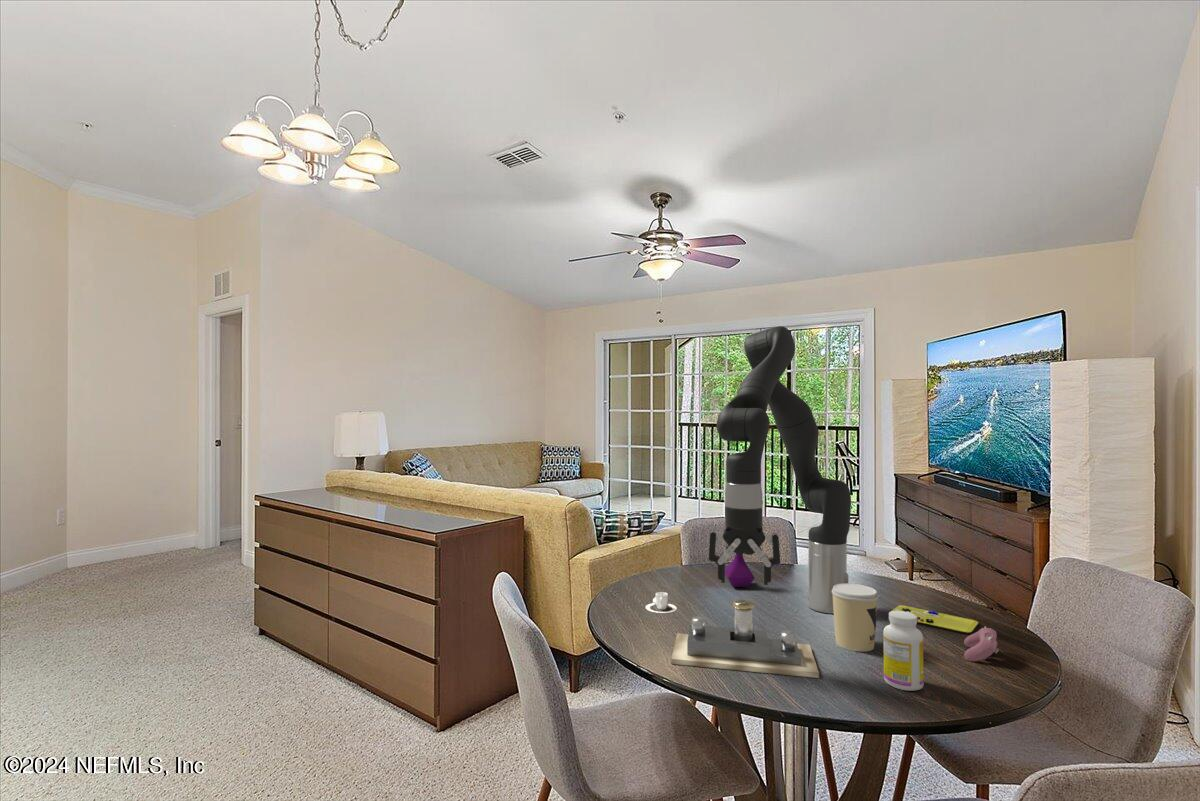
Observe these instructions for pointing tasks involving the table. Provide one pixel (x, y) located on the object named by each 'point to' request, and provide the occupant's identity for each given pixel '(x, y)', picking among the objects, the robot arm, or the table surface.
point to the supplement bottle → (903, 652)
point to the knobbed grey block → (741, 645)
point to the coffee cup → (855, 616)
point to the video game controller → (981, 644)
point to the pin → (743, 620)
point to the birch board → (805, 670)
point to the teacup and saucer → (661, 603)
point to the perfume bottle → (739, 572)
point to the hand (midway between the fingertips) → (744, 583)
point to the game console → (941, 620)
